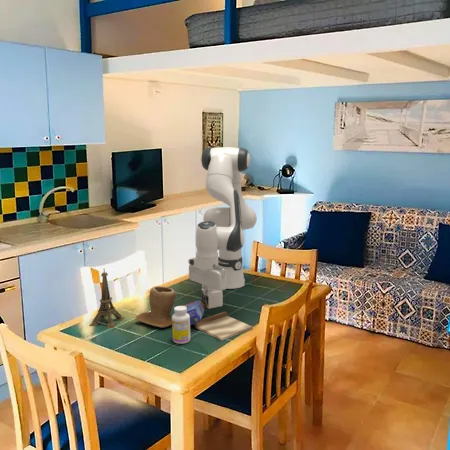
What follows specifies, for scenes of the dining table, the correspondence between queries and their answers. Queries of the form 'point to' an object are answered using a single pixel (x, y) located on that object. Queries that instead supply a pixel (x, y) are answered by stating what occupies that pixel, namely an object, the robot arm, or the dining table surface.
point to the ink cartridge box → (195, 311)
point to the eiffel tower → (106, 306)
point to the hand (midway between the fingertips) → (207, 295)
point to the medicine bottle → (213, 299)
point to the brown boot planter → (159, 307)
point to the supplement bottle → (181, 325)
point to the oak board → (222, 326)
